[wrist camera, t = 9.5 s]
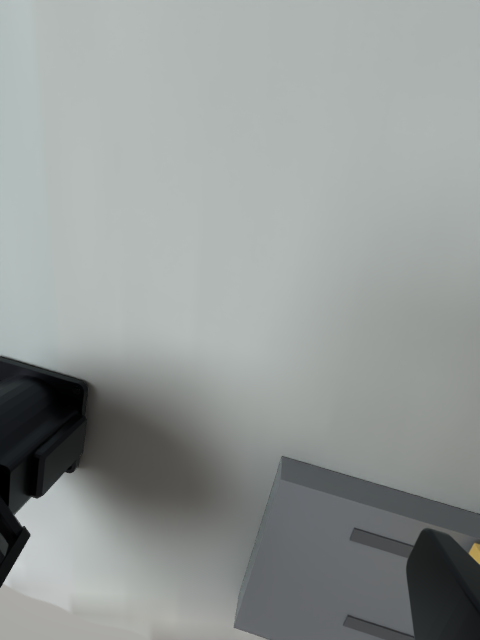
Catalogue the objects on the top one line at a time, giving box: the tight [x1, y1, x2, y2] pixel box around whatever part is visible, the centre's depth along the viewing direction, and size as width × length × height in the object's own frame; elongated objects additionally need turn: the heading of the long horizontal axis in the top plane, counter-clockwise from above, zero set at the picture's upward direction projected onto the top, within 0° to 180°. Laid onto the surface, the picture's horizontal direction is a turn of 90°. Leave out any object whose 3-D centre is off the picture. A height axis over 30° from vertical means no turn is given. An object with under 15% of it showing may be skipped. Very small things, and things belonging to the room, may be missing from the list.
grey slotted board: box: [234, 456, 480, 640], centre depth 22 cm, size 16×12×2 cm
